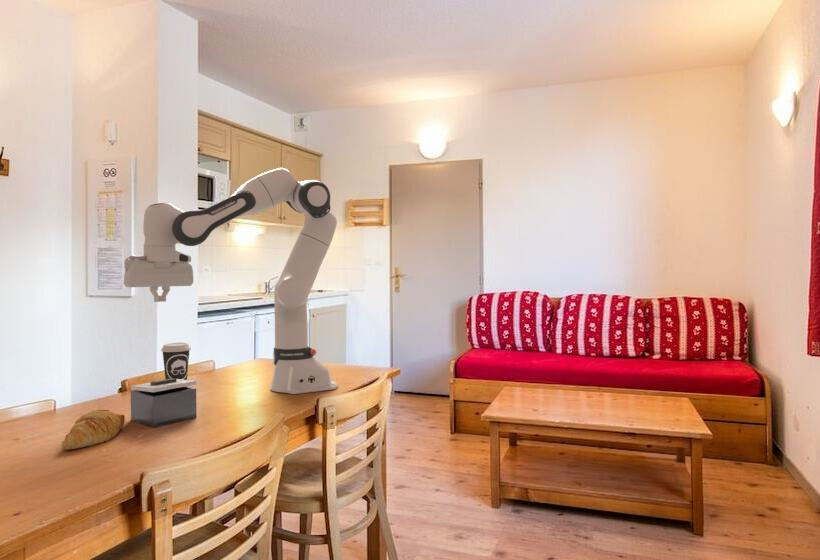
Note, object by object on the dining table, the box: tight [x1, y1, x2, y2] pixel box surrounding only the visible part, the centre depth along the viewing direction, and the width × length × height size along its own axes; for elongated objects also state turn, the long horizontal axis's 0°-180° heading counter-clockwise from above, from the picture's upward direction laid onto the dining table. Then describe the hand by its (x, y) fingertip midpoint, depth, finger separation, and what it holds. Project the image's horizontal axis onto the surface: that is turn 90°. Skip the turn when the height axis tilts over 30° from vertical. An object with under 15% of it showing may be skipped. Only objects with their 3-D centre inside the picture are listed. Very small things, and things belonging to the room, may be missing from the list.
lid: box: [130, 378, 197, 392], centre depth 145 cm, size 12×12×2 cm
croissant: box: [61, 409, 126, 451], centre depth 128 cm, size 21×10×8 cm, turn 177°
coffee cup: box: [160, 342, 192, 380], centre depth 185 cm, size 10×10×15 cm
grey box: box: [130, 386, 197, 428], centre depth 145 cm, size 12×12×8 cm
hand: (160, 301), depth 161 cm, fingers closed
